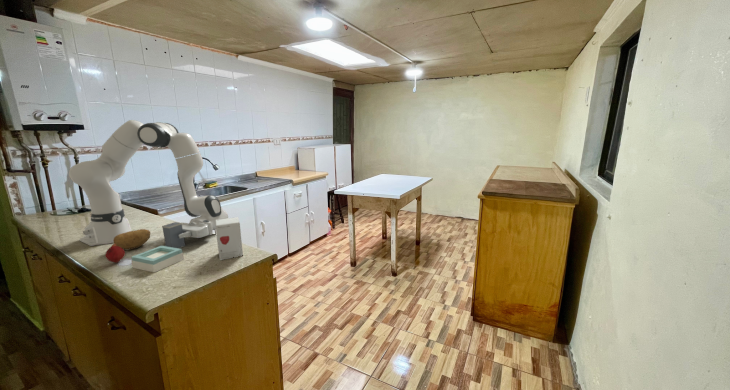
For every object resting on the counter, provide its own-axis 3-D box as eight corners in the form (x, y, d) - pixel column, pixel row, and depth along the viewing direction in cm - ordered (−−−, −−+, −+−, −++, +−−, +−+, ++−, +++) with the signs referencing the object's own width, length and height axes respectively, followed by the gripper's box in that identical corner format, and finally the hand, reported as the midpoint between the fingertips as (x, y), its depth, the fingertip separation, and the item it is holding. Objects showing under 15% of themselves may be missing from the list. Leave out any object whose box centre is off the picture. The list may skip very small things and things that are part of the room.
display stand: (132, 267, 112) (130, 256, 111) (163, 255, 123) (161, 245, 122) (154, 272, 108) (152, 261, 107) (183, 259, 119) (182, 249, 118)
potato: (157, 244, 136) (154, 227, 134) (122, 255, 123) (119, 237, 122) (145, 240, 140) (142, 225, 138) (110, 251, 127) (106, 234, 126)
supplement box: (219, 260, 117) (215, 225, 114) (219, 252, 125) (214, 219, 122) (243, 256, 121) (239, 222, 118) (241, 248, 129) (238, 216, 126)
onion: (115, 266, 113) (111, 247, 111) (103, 265, 114) (99, 246, 112) (130, 260, 119) (126, 241, 117) (118, 259, 120) (114, 240, 118)
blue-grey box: (165, 249, 129) (161, 226, 127) (178, 244, 135) (175, 222, 132) (172, 250, 128) (168, 227, 125) (185, 245, 133) (181, 222, 131)
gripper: (182, 218, 145) (154, 226, 132) (213, 222, 138) (187, 231, 125) (184, 230, 146) (156, 239, 133) (215, 234, 139) (189, 245, 126)
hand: (171, 235), depth 129 cm, fingers open, 7 cm apart
